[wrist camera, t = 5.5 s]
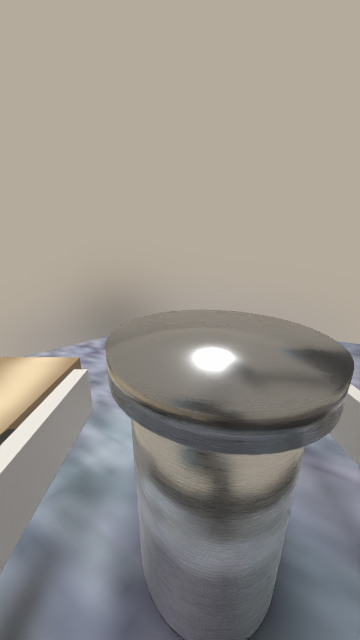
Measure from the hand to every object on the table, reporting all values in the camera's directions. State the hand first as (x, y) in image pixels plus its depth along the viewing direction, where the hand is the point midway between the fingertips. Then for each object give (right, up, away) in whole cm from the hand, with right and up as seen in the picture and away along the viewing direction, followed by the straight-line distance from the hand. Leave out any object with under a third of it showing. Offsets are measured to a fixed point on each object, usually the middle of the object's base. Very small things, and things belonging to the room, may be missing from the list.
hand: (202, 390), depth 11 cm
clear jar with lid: (0, -7, -1) cm, 7 cm away
